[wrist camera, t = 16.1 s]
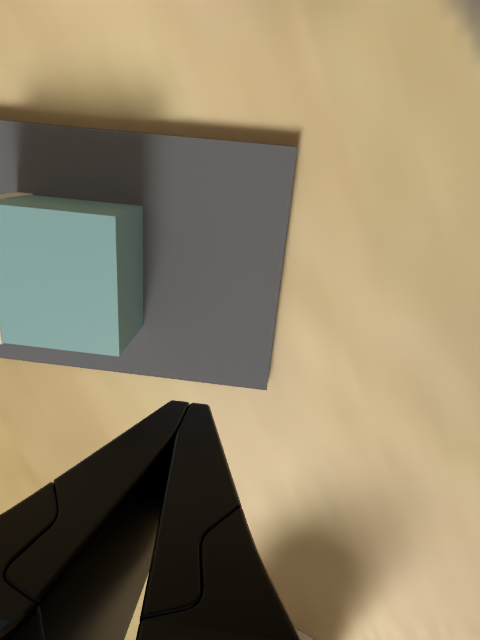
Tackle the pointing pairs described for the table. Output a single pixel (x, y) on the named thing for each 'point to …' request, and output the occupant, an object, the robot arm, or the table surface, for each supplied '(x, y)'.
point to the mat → (174, 241)
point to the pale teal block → (70, 273)
